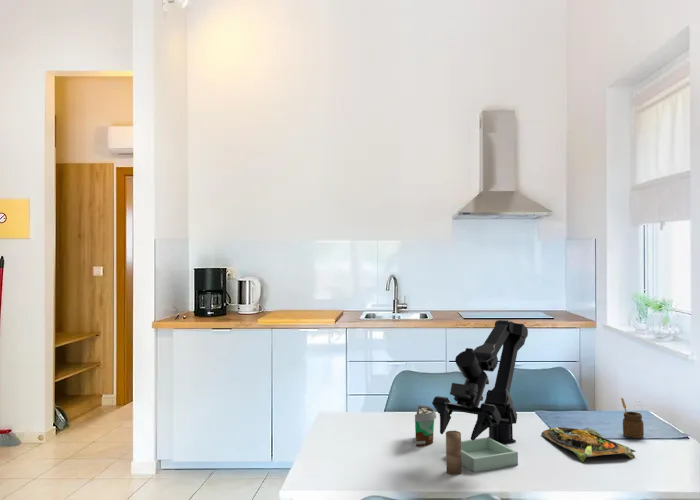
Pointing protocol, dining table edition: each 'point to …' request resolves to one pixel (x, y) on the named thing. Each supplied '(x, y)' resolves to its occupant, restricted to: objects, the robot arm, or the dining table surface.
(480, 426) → the robot arm
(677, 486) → the dining table surface
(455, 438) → the walnut handle
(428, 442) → the food container
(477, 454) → the box
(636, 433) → the utensil holder
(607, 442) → the prepared meal
